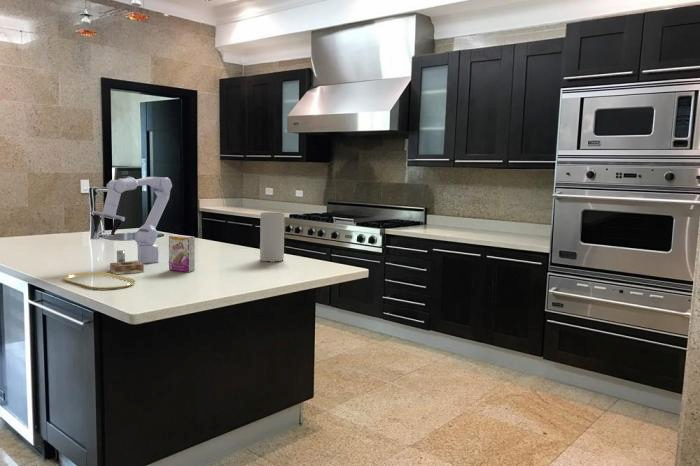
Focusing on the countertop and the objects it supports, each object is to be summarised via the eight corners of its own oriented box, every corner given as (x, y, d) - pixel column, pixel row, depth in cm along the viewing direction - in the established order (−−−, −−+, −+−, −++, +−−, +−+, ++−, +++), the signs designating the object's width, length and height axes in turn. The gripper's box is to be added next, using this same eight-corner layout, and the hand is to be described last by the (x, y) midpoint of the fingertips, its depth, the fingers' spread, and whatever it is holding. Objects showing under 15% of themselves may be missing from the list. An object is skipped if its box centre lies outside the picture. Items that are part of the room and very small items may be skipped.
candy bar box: (168, 270, 255) (168, 235, 253) (175, 268, 260) (174, 234, 258) (188, 272, 251) (188, 237, 249) (195, 270, 256) (195, 236, 254)
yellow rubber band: (98, 273, 245) (98, 270, 244) (144, 285, 224) (144, 281, 224) (55, 280, 229) (55, 276, 229) (101, 293, 209) (101, 289, 209)
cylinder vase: (268, 263, 282) (268, 214, 279) (255, 259, 291) (256, 212, 288) (288, 260, 290) (289, 214, 287) (275, 257, 300) (275, 212, 297)
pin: (123, 266, 261) (123, 250, 260) (125, 267, 258) (125, 251, 257) (116, 267, 258) (115, 250, 257) (118, 268, 256) (117, 251, 255)
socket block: (137, 268, 258) (137, 260, 257) (143, 271, 250) (143, 264, 249) (110, 270, 251) (110, 263, 250) (115, 274, 243) (115, 266, 242)
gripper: (92, 200, 250) (84, 228, 248) (124, 206, 251) (117, 235, 249) (97, 202, 257) (90, 230, 255) (128, 209, 258) (121, 237, 256)
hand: (103, 233), depth 253 cm, fingers open, 7 cm apart
